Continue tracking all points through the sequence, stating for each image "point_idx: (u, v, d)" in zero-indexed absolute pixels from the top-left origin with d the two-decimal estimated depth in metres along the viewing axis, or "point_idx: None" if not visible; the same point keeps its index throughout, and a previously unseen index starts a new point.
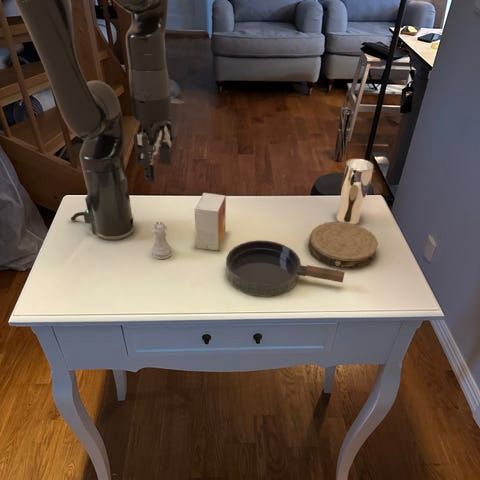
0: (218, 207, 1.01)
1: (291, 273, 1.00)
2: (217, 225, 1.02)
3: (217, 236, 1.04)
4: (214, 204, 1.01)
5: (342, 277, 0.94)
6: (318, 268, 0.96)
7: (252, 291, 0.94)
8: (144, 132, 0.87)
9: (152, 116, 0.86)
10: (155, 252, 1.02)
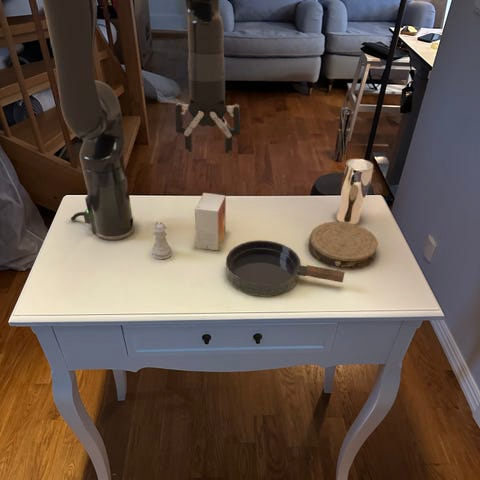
0: (218, 207, 1.01)
1: (291, 273, 1.00)
2: (217, 225, 1.02)
3: (217, 236, 1.04)
4: (214, 204, 1.01)
5: (342, 277, 0.94)
6: (318, 268, 0.96)
7: (252, 291, 0.94)
8: (186, 104, 0.97)
9: (190, 93, 0.94)
10: (155, 252, 1.02)
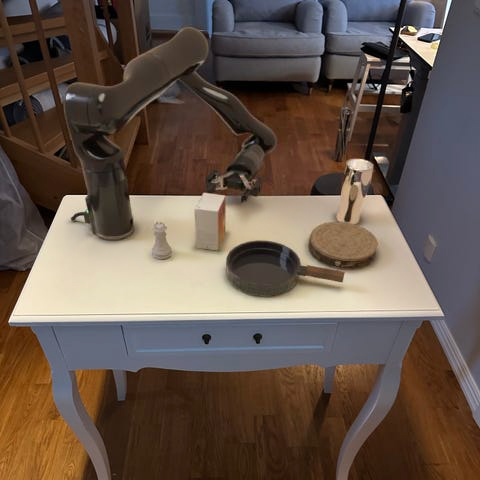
0: (218, 207, 1.01)
1: (291, 273, 1.00)
2: (217, 225, 1.02)
3: (217, 236, 1.04)
4: (214, 204, 1.01)
5: (342, 277, 0.94)
6: (318, 268, 0.96)
7: (252, 291, 0.94)
8: None
9: (228, 166, 1.21)
10: (155, 252, 1.02)
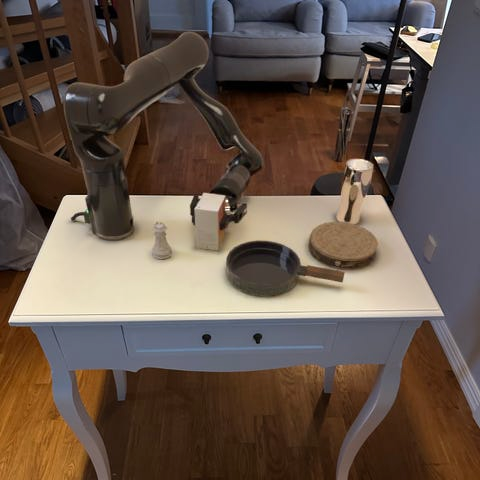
0: (218, 207, 1.01)
1: (291, 273, 1.00)
2: (217, 225, 1.02)
3: (217, 236, 1.04)
4: (214, 204, 1.01)
5: (342, 277, 0.94)
6: (318, 268, 0.96)
7: (252, 291, 0.94)
8: None
9: None
10: (155, 252, 1.02)
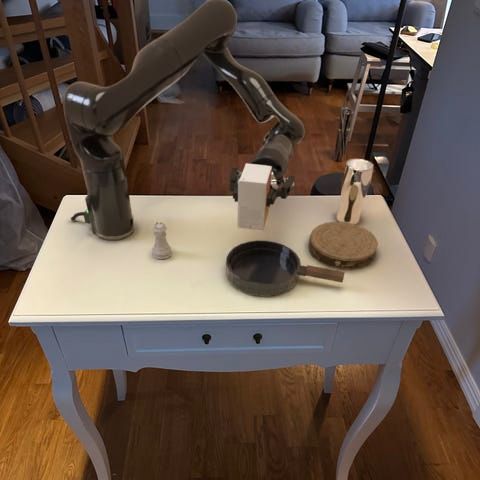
0: (266, 179, 0.86)
1: (291, 273, 1.00)
2: (264, 200, 0.87)
3: (263, 213, 0.89)
4: (261, 175, 0.87)
5: (342, 277, 0.94)
6: (318, 268, 0.96)
7: (252, 291, 0.94)
8: None
9: (252, 161, 0.98)
10: (155, 252, 1.02)
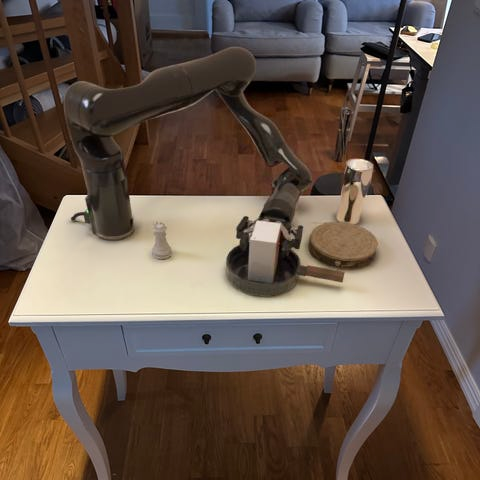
0: (276, 238, 0.91)
1: (291, 273, 1.00)
2: (274, 257, 0.92)
3: (273, 268, 0.94)
4: (271, 234, 0.92)
5: (342, 277, 0.94)
6: (318, 268, 0.96)
7: (252, 291, 0.94)
8: None
9: (261, 211, 1.03)
10: (155, 252, 1.02)
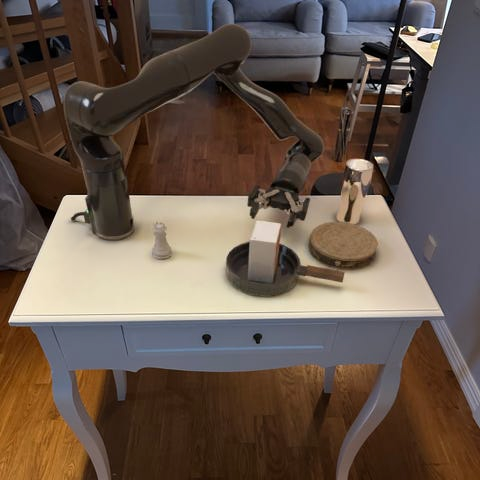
0: (276, 238, 0.91)
1: (291, 273, 1.00)
2: (274, 257, 0.92)
3: (273, 268, 0.94)
4: (271, 234, 0.92)
5: (342, 277, 0.94)
6: (318, 268, 0.96)
7: (252, 291, 0.94)
8: None
9: (273, 181, 1.10)
10: (155, 252, 1.02)
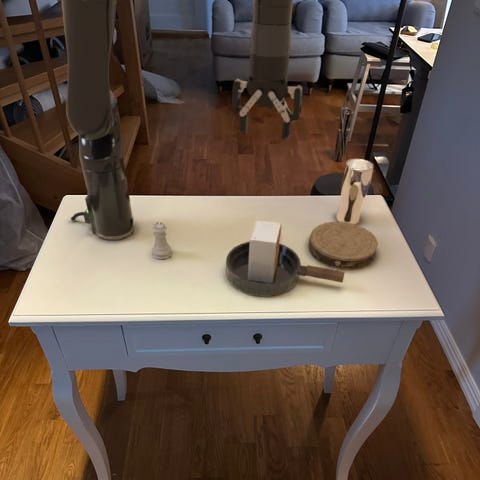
0: (276, 238, 0.91)
1: (291, 273, 1.00)
2: (274, 257, 0.92)
3: (273, 268, 0.94)
4: (271, 234, 0.92)
5: (342, 277, 0.94)
6: (318, 268, 0.96)
7: (252, 291, 0.94)
8: (245, 82, 0.90)
9: (249, 69, 0.87)
10: (155, 252, 1.02)
